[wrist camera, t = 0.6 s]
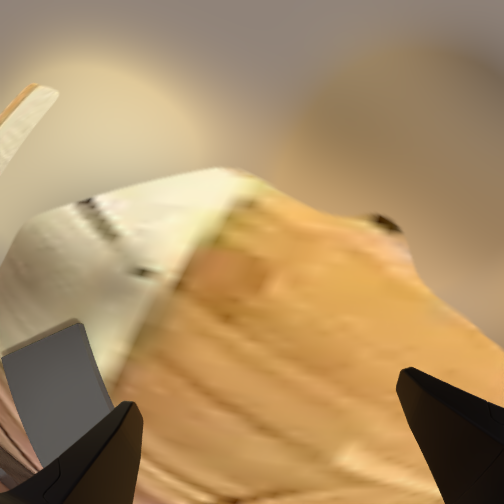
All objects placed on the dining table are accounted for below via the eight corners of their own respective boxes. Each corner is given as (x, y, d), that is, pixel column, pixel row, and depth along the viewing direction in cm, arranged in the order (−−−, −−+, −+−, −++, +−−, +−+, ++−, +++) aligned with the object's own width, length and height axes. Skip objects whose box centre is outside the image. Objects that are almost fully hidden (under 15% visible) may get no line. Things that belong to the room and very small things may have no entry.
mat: (136, 452, 19) (132, 456, 18) (47, 465, 18) (43, 468, 17) (83, 324, 23) (77, 323, 22) (6, 358, 21) (1, 357, 20)
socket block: (54, 489, 17) (38, 499, 13) (58, 539, 13) (46, 549, 10) (-6, 440, 17) (-23, 444, 14) (0, 494, 14) (-14, 499, 11)
